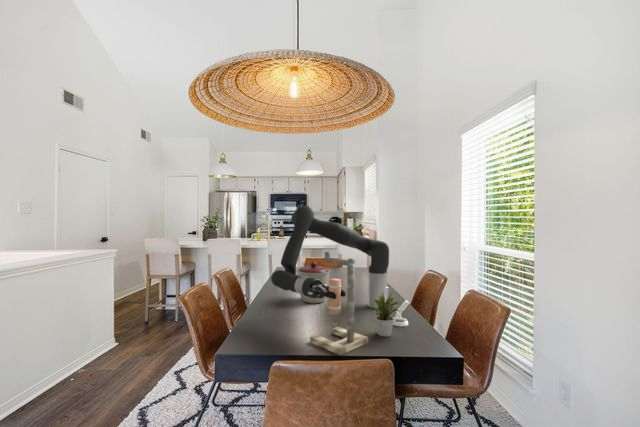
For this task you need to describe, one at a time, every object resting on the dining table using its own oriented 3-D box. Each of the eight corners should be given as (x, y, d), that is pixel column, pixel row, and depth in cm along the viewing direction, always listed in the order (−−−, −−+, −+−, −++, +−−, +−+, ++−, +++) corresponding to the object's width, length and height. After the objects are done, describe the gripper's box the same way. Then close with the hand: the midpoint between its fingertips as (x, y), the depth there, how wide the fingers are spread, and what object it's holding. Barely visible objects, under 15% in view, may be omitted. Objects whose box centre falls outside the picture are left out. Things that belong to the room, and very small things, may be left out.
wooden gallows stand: (310, 342, 113) (310, 253, 113) (338, 331, 123) (338, 250, 124) (340, 355, 103) (340, 257, 103) (368, 342, 113) (368, 253, 113)
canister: (336, 299, 171) (336, 261, 171) (318, 307, 156) (318, 265, 156) (309, 295, 181) (309, 258, 181) (289, 302, 165) (289, 262, 165)
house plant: (396, 345, 111) (396, 299, 111) (360, 337, 118) (360, 293, 118) (407, 333, 123) (408, 291, 123) (374, 326, 130) (374, 286, 130)
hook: (422, 314, 130) (410, 305, 129) (404, 336, 131) (391, 327, 130) (415, 305, 137) (403, 297, 136) (398, 326, 139) (386, 318, 137)
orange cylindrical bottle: (336, 310, 118) (336, 278, 118) (343, 313, 114) (343, 280, 114) (325, 311, 116) (326, 279, 116) (332, 315, 112) (332, 281, 112)
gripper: (294, 279, 120) (326, 287, 108) (321, 275, 130) (353, 281, 118) (294, 299, 120) (326, 309, 108) (321, 293, 130) (353, 301, 118)
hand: (340, 294), depth 113 cm, fingers closed on orange cylindrical bottle, 4 cm apart
